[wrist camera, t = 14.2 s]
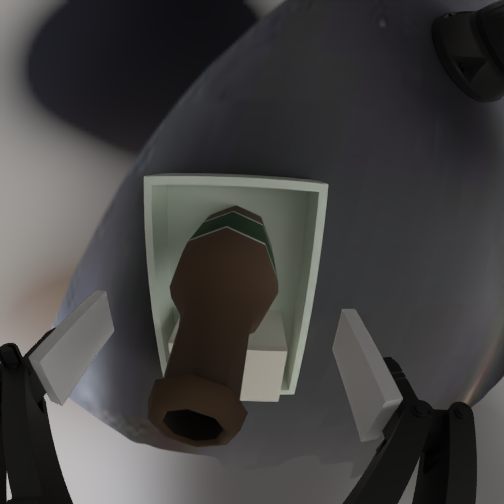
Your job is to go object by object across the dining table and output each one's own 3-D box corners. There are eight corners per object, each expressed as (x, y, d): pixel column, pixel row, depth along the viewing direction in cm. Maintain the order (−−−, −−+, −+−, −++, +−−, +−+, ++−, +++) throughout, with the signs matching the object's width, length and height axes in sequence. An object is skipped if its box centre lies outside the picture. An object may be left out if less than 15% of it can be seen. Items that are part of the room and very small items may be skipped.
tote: (314, 179, 29) (328, 184, 24) (289, 365, 38) (294, 394, 32) (163, 173, 29) (143, 176, 24) (174, 357, 37) (164, 385, 32)
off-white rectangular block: (280, 311, 33) (287, 351, 26) (274, 359, 36) (278, 401, 28) (184, 304, 33) (168, 342, 26) (188, 353, 36) (176, 393, 28)
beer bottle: (201, 268, 32) (121, 455, 9) (201, 202, 29) (60, 326, 7) (268, 272, 32) (288, 474, 9) (272, 205, 29) (328, 353, 7)
